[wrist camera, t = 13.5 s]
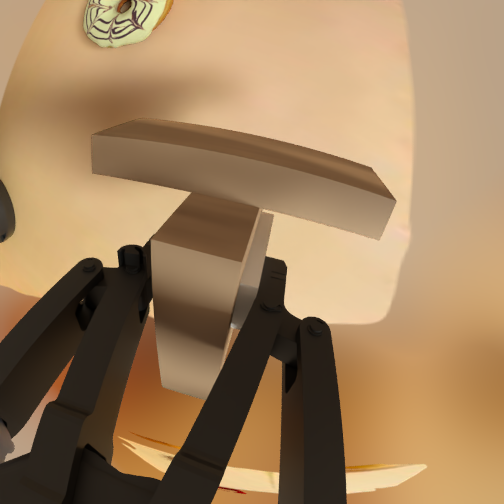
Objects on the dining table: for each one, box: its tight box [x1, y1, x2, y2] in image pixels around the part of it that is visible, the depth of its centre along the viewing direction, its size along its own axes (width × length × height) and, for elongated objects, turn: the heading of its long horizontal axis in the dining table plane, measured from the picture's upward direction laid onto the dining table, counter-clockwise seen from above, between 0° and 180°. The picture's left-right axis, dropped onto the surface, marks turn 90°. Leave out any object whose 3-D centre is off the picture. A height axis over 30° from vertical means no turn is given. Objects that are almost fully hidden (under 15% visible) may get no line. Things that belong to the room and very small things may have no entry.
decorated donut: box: [83, 0, 173, 48], centre depth 19 cm, size 10×11×4 cm
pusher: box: [92, 118, 396, 400], centre depth 15 cm, size 12×14×9 cm
